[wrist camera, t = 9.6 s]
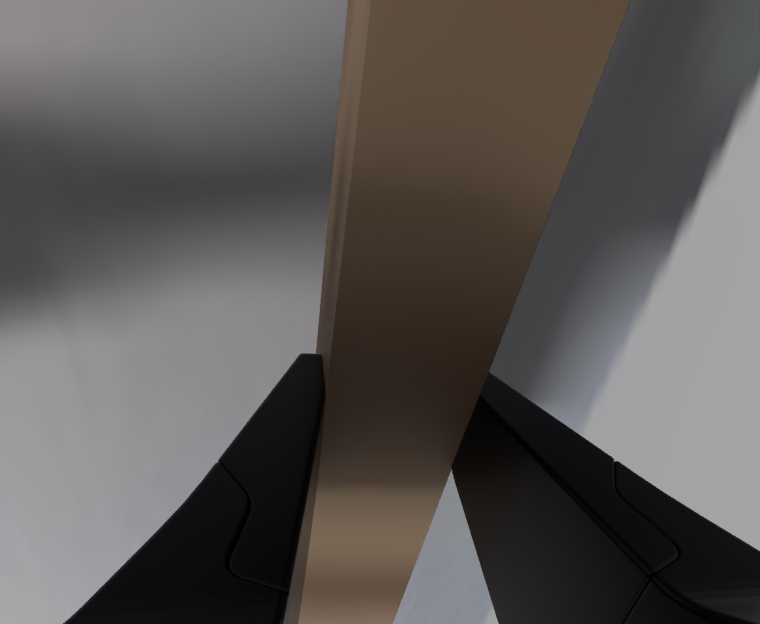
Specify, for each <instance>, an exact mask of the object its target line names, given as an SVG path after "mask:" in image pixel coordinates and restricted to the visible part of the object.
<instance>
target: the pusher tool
mask: <svg viewBox="0 0 760 624" xmlns="http://www.w3.org/2000/svg"><path fill="white" fill-rule="evenodd" d="M629 3H630V0H348V9H347V19H346V30H345V41H344V52H343V63H342V74H341V85H340V96H339V107H338V118H337V129H336V140H335V151H334V162H333V173H332V184H331V195H330V206H329V216H328V227H327V238H326V249H325V260H324V271H323V282H322V293H321V304H320V315H319V326H318V337H317V348H316V354H321V355H322V360H323V370H324V380H325V392H326V401H325V412H324V422H323V433H322V444H321V454H320V465H319V475H318V485H317V492H316V500H315V507H314V514H313V522H312V529H311V536H310V544H309V551H308V558H307V566H306V573H305V580H304V588H303V595H302V602H301V609H300V617H299V624H393V621H394V618H395V616H396V613H397V610H398V608H399V605H400V603H401V600H402V597H403V595H404V592H405V589H406V587H407V584H408V582H409V579H410V576H411V574H412V571H413V569H414V566H415V563H416V561H417V558H418V555H419V553H420V550H421V548H422V545H423V542H424V540H425V537H426V534H427V532H428V529H429V527H430V524H431V521H432V519H433V516H434V513H435V511H436V508H437V506H438V503H439V500H440V498H441V495H442V493H443V490H444V487H445V485H446V482H447V479H448V477H449V474H450V472H451V469H452V468H451V466H452V463H453V461H454V458H455V456H456V453H457V450H458V448H459V445H460V443H461V440H462V438H463V435H464V433H465V430H466V428H467V425H468V423H469V420H470V418H471V415H472V413H473V410H474V408H475V405H476V403H477V400H478V398H479V396H480V393H481V390H482V388H483V385H484V382H485V380H486V377H487V375H488V372H489V369H490V367H491V364H492V362H493V359H494V356H495V354H496V351H497V348H498V346H499V343H500V341H501V338H502V335H503V333H504V330H505V327H506V325H507V322H508V320H509V317H510V314H511V312H512V309H513V307H514V304H515V301H516V299H517V296H518V293H519V291H520V288H521V286H522V283H523V280H524V278H525V275H526V272H527V270H528V267H529V265H530V262H531V259H532V257H533V254H534V251H535V249H536V246H537V244H538V241H539V238H540V236H541V233H542V231H543V228H544V225H545V223H546V220H547V217H548V215H549V212H550V210H551V207H552V204H553V202H554V199H555V196H556V194H557V191H558V189H559V186H560V183H561V181H562V178H563V176H564V173H565V170H566V168H567V165H568V162H569V160H570V157H571V155H572V152H573V149H574V147H575V144H576V141H577V139H578V136H579V134H580V131H581V128H582V126H583V123H584V120H585V118H586V115H587V113H588V110H589V107H590V105H591V102H592V100H593V97H594V94H595V92H596V89H597V86H598V84H599V81H600V79H601V76H602V73H603V71H604V68H605V65H606V63H607V60H608V58H609V55H610V52H611V50H612V47H613V45H614V42H615V39H616V37H617V34H618V31H619V29H620V26H621V24H622V21H623V18H624V16H625V13H626V10H627V8H628V5H629Z"/></svg>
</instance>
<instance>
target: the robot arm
mask: <svg viewBox="0 0 760 624" xmlns="http://www.w3.org/2000/svg"><path fill="white" fill-rule="evenodd" d="M325 401H326V392H325V380H324V370H323V360H322V355H321V354H304V353H303V354H300V355H299V356H298V357H297V359H296V360H295V361H294V363H293V364H292V365H291V367H290V368H289V369H288V370H287V372H286V373H285V374H284V376H283V377H282V378H281V379H280V381H279V382H278V383H277V385H276V386H275V387H274V389H273V390H272V391H271V392H270V394H269V395H268V396H267V398H266V399H265V400H264V401H263V403H262V404H261V405H260V407H259V408H258V409H257V411H256V412H255V413H254V414H253V416H252V417H251V418H250V420H249V421H248V422H247V423H246V425H245V426H244V427H243V429H242V430H241V431H240V433H239V434H238V435H237V436H236V438H235V439H234V440H233V442H232V443H231V444H230V446H229V447H228V448H227V449H226V451H225V452H224V453H223V455H222V456H221V457H220V458H219V460H218V463H216V464H215V465H214V466H213V467H212V468H211V470H210V471H209V472H208V474H207V475H206V476H205V478H204V479H203V480H202V481H201V483H200V484H199V485H198V486H197V487H196V489H195V490H194V491H193V492H192V493H191V495H190V496H189V497H188V498H187V499H186V501H185V502H184V503H183V504H182V505H181V506H180V507H179V508H178V509H177V511H176V512H175V513H174V514H173V515H172V516H171V517H170V518H169V519H168V520H167V521H166V522H165V523H164V524H163V525H162V526H161V527H160V528H159V530H158V531H157V532H156V533H155V534H154V535H153V536H152V537H151V538H150V539H149V540H148V541H147V542H146V543H145V544H144V545H143V546H142V547H141V548H140V549H139V550H138V551H137V552H136V553H135V554H134V555H133V556H132V557H131V558H130V559H129V560H128V561H127V562H126V563H125V564H124V565H123V566H122V567H121V568H120V569H119V570H118V571H117V572H116V573H115V574H114V575H113V576H112V577H111V578H110V579H109V580H108V581H107V582H106V583H105V584H104V585H103V586H102V587H101V588H100V589H99V590H98V591H97V592H96V593H95V594H94V595H93V596H92V597H91V598H90V599H89V600H88V601H87V602H86V603H85V604H84V605H83V606H82V607H81V608H80V609H79V610H78V611H77V612H76V613H75V614H74V615H73V616H71V617H70V618H69V619H68V620H67V621H65V622H64V623H63V624H299V617H300V609H301V602H302V595H303V588H304V580H305V573H306V566H307V558H308V551H309V544H310V536H311V529H312V522H313V514H314V507H315V500H316V492H317V485H318V475H319V465H320V454H321V444H322V433H323V422H324V412H325ZM451 468H452V473H453V476H454V480H455V484H456V487H457V490H458V494H459V497H460V500H461V503H462V506H463V510H464V513H465V516H466V519H467V523H468V526H469V529H470V532H471V536H472V539H473V542H474V545H475V549H476V552H477V555H478V558H479V562H480V565H481V568H482V571H483V574H484V578H485V581H486V584H487V587H488V591H489V594H490V597H491V600H492V604H493V607H494V610H495V613H496V617H497V619H498V623H499V624H760V551H759V550H757V549H755V548H754V547H752V546H750V545H749V544H747V543H745V542H744V541H742V540H741V539H739V538H737V537H736V536H734V535H732V534H731V533H729V532H727V531H726V530H724V529H722V528H720V527H719V526H717V525H716V524H714V523H712V522H711V521H709V520H707V519H706V518H704V517H703V516H700V515H699V514H698V513H696V512H694V511H693V510H691V509H690V508H688V507H686V506H685V505H683V504H682V503H680V502H678V501H677V500H675V499H674V498H672V497H670V496H669V495H667V494H665V493H664V492H663V491H661V490H659V489H658V488H656V487H655V486H653V485H652V484H651V483H649V482H648V481H646V480H645V479H643V478H641V477H640V476H638V475H637V474H636V473H634V472H633V471H631V470H630V469H628V468H627V467H626V466H624V465H622V464H621V463H620V462H618V461H616V462H614V459H613V458H612V457H611V456H609V455H608V454H606V453H605V452H604V451H602V450H601V449H599V448H598V447H596V446H595V445H594V444H592V443H590V442H589V441H588V440H586V439H585V438H583V437H582V436H581V435H579V434H578V433H576V432H575V431H573V430H572V429H570V428H569V427H567V426H566V425H565V424H563V423H562V422H560V421H559V420H557V419H556V418H554V417H553V416H552V415H550V414H549V413H547V412H546V411H544V410H543V409H541V408H540V407H538V406H537V405H536V404H534V403H533V402H531V401H530V400H528V399H527V398H525V397H524V396H523V395H521V394H520V393H518V392H517V391H515V390H514V389H512V388H511V387H509V386H508V385H507V384H505V383H504V382H502V381H501V380H499V379H498V378H496V377H495V376H494V375H492V374H491V373H489V372H488V375H487V377H486V380H485V382H484V385H483V388H482V390H481V393H480V396H479V398H478V400H477V403H476V405H475V408H474V410H473V413H472V415H471V418H470V420H469V423H468V425H467V428H466V430H465V433H464V435H463V438H462V440H461V443H460V445H459V448H458V450H457V453H456V456H455V458H454V461H453V463H452V466H451Z"/></svg>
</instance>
